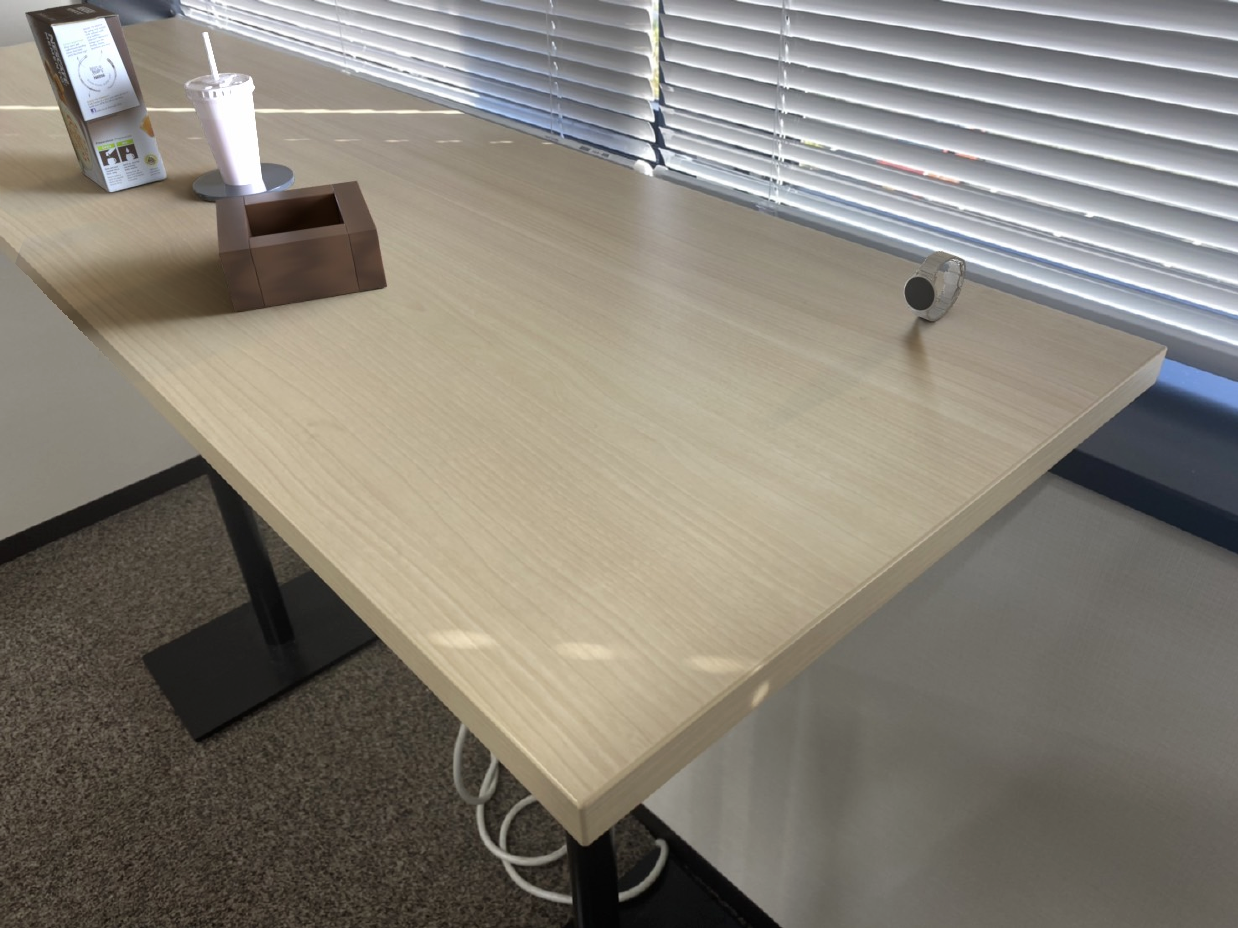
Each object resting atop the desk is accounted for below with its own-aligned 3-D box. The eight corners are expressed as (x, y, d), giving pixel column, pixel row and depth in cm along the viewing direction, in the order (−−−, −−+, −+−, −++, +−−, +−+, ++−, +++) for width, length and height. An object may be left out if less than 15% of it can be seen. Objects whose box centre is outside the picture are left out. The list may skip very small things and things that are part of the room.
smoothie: (263, 164, 103) (229, 22, 95) (283, 181, 99) (250, 34, 91) (202, 177, 100) (162, 32, 92) (220, 194, 96) (179, 44, 88)
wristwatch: (897, 320, 73) (907, 258, 70) (935, 299, 76) (946, 239, 73) (930, 333, 71) (942, 271, 68) (967, 312, 74) (981, 250, 71)
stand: (235, 312, 76) (218, 253, 74) (230, 254, 86) (215, 199, 83) (387, 287, 80) (377, 229, 77) (367, 233, 89) (357, 180, 86)
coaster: (194, 208, 95) (192, 202, 94) (193, 175, 102) (192, 170, 102) (299, 194, 97) (297, 188, 97) (291, 163, 105) (289, 157, 105)
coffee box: (170, 178, 102) (121, 13, 92) (108, 194, 98) (50, 24, 89) (138, 158, 107) (88, 0, 98) (78, 172, 104) (20, 10, 95)
